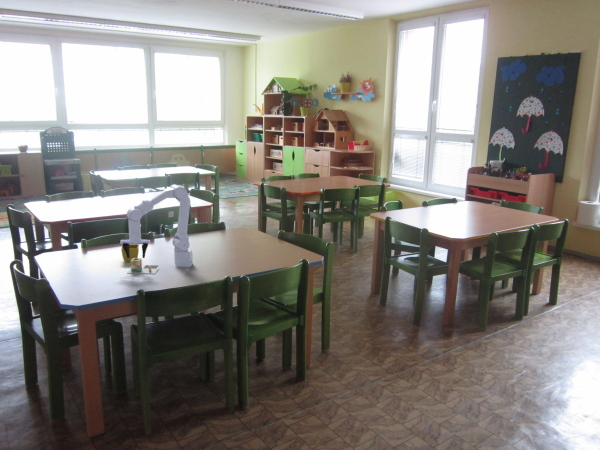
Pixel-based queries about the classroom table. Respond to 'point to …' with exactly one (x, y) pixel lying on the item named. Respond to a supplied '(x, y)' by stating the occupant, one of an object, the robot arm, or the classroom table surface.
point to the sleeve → (136, 265)
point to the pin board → (145, 271)
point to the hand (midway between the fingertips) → (136, 257)
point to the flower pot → (132, 250)
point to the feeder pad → (151, 266)
